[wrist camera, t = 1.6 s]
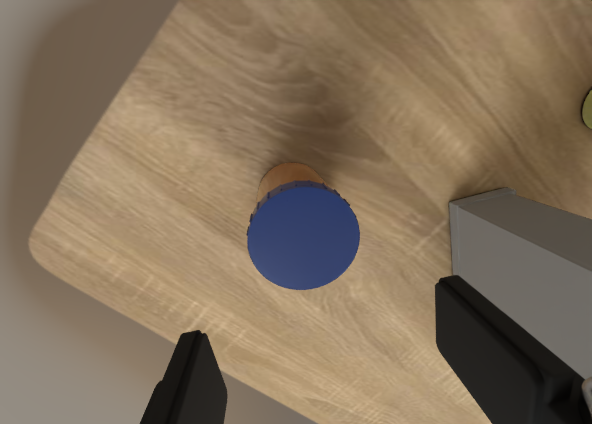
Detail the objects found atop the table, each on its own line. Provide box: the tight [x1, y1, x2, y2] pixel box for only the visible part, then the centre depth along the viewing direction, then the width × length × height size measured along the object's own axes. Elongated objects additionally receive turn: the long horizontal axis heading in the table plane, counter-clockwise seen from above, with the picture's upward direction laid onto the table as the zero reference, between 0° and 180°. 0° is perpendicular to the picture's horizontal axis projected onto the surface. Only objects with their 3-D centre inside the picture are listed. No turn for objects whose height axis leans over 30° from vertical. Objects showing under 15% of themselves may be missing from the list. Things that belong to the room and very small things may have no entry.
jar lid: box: [247, 180, 360, 290], centre depth 17 cm, size 7×7×2 cm
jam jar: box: [255, 162, 329, 208], centre depth 21 cm, size 6×6×10 cm
